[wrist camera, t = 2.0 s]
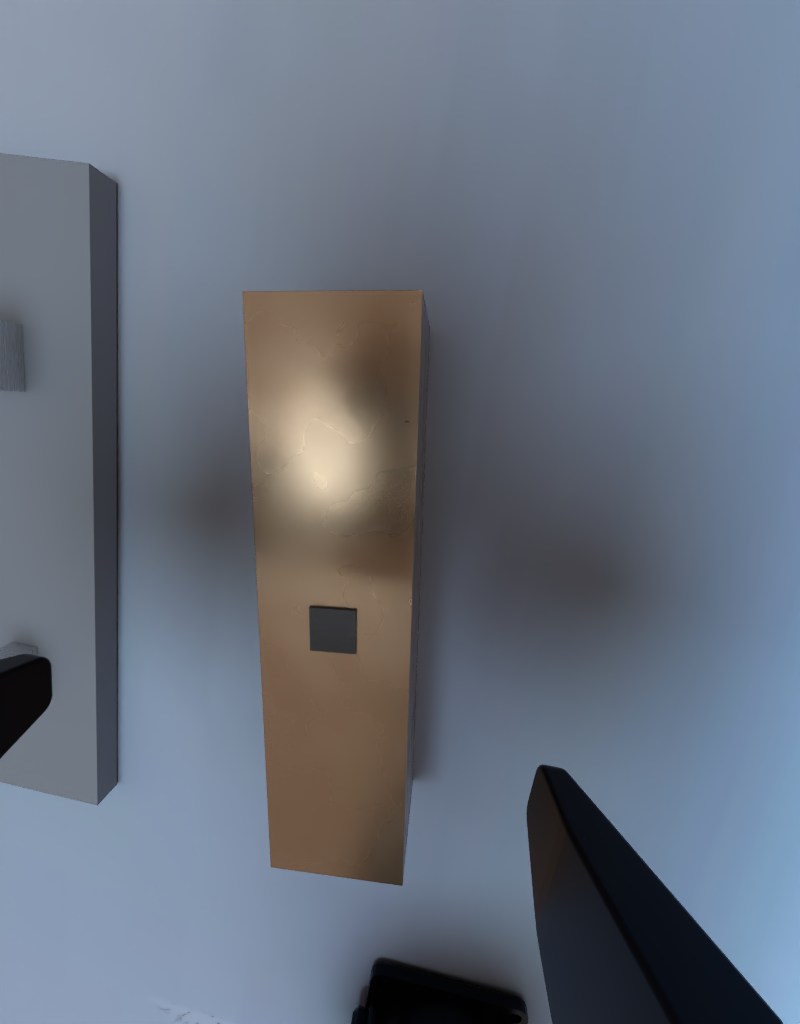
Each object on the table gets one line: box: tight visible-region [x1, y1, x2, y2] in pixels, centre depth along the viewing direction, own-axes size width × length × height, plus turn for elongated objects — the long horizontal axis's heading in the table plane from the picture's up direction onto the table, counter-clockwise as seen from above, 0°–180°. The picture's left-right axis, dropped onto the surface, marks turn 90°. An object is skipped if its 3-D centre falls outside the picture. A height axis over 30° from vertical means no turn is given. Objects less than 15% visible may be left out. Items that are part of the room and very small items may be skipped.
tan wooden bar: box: [242, 290, 430, 886], centre depth 13 cm, size 4×16×4 cm, turn 179°
